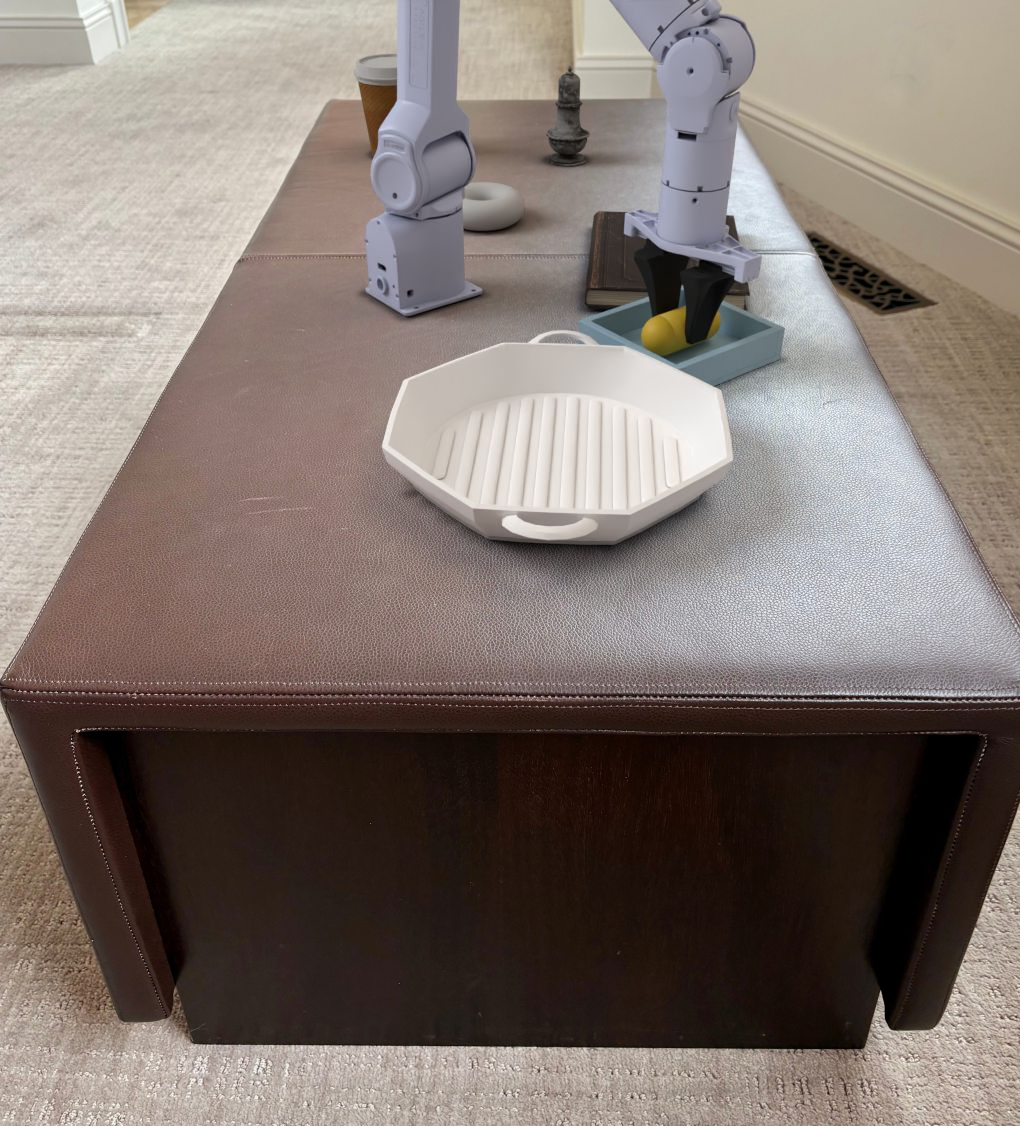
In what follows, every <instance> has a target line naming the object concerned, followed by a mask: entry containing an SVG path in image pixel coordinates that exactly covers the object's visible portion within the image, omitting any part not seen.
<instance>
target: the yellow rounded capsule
mask: <svg viewBox="0 0 1020 1126" xmlns="http://www.w3.org/2000/svg"><path fill="white" fill-rule="evenodd" d="M685 318H686V306H683V307H680V308H677V309H675V310H672V311H669V312H666V313H663V314H660V315H658V316H655V317H653V318H651V319H650V320H648V321H647V322H646V324H645V325H644V327H643V329H642V333H641V339H642V343H643V345H644V347H645V349H647V350H649V351H650V352H652V353H654V354H656V355H658V356H665V355H669V354H672V353H674V352H677V351H680V350H682V349H685V348H687V347H690V346H693V345H695V344H698V343H701V342H703V341H706V340H708V339H710V338H712V337H713V336H714V335H715V334H716V333H717V332H718V330H719V328H720V324H721V316H720V313H719V311H717V313H716V316H715V318H714V320H713V323H712V325H711V328H710V331H709V333H708V336H707V339H706V340H703V341H701V342H698V343H695V344H693V345H691V344H688V343H686V337H685Z"/></svg>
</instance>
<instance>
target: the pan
mask: <svg viewBox="0 0 1020 1126" xmlns="http://www.w3.org/2000/svg"><path fill="white" fill-rule="evenodd" d="M553 338H571V339H575V340H577V341H578V340H580V341H583V342H584V343H585V344H578V343H557V342H553V343H551V342H545V341H548V340H551V339H553ZM724 400H725V399H724V397H723V392H722V390H721V389H719V388H717V387H715V386H711V385H709V384H707V383H705V382H703V381H701V380H699V379H697V378H695V377H693V376H691V375H689V374H686V373H684V372H682V371H680V370H678V369H676V368H673V367H671V366H669V365H667V364H665V363H663V362H661V361H658V360H656V359H654V358H652V357H650V356H647V355H645V354H643V353H640V352H638V351H636V350H634V349H631V348H629V347H627V346H611V345H599V344H598V343H597V342H596V341H595V340H593V339H592V338H591V337H590V336H588V335H585V334H582V333H580V332H579V331H574V330H567V329H561V330H560V329H559V330H550V331H546V332H543V333H539V334H538V335H536V336H535V337H534V338H532V339H531V340H530V341H528V342H501V343H498V344H494V345H492V346H489V347H486V348H483V349H480V350H477V351H475V352H471V353H469V354H467V355H464V356H461V357H458V358H456V359H453V360H450V361H447V362H445V363H443V364H440V365H438V366H435V367H433V368H430V369H427V370H425V371H422V372H420V373H418V374H415V375H413V376H410V377H408V378H405V379H403V380H402V383H401V386H400V388H399V391H398V393H397V396H396V398H395V400H394V403H393V406H392V409H391V411H390V414H389V418H388V422H387V424H386V428H385V433H384V437H383V440H382V444H381V449H382V453H383V456H384V458H385V461H386V463H387V464H388V465H389V466H391V467H392V468H393V469H394V470H395V471H396V472H398V473H399V474H400V475H401V476H402V477H403V478H405V479H406V480H407V481H408V482H409V483H411V484H412V488H413V489H414V490H416V491H417V492H418V493H419V494H421V495H422V496H423V497H424V498H426V499H427V500H428V501H429V502H430V503H432V504H433V505H435V506H436V507H437V508H439V509H440V510H442V511H443V512H444V513H445V514H447V515H448V516H450V517H452V518H453V519H455V520H456V521H457V522H458V523H460V524H462V525H464V526H465V527H467V528H468V529H470V530H472V531H474V532H475V533H477V534H478V535H480V536H482V537H484V538H485V539H487V540H492V541H493V540H494V541H505V542H516V543H533V544H534V543H535V544H554V545H595V546H596V545H607V546H608V545H611V546H612V545H613V546H615V545H617V544H619V543H621V542H623V541H625V540H627V539H630V538H631V537H634V536H636V535H638V534H640V533H642V532H644V531H646V530H648V529H649V528H651V527H653V526H655V525H657V524H658V523H660V522H662V521H664V520H666V519H668V518H670V517H672V516H673V515H675V514H677V513H679V512H680V511H682V510H684V509H685V508H687V507H689V506H690V505H691V504H693V503H694V502H696V501H697V500H699V499H700V497H701V495H703V494H704V493H705V492H706V491H708V490H709V489H711V488H712V487H713V486H715V485H716V484H717V483H718V482H720V481H721V480H722V479H724V478H725V477H727V476H728V475H729V472H730V469H731V467H732V465H733V463H734V452H733V443H732V437H731V431H730V427H729V420H728V415H727V408H726V403H725V401H724Z"/></svg>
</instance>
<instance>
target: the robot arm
mask: <svg viewBox="0 0 1020 1126" xmlns="http://www.w3.org/2000/svg"><path fill="white" fill-rule="evenodd" d="M608 1H609V2H610V3H611V5H612V6H613V8H614V9H615V10H616V11H617V13H618V14H619V15H620V17H622V19H623V21H625V23H626V24H627V26H628V27H629V28H630V30H631V31H632V32H633V33H634V35H635V36H636V37H637V39H639V41H640V43H641V44H642V45H643V46H644V47H645V49H646V50H647V52H648V53H649V54H650V55H651V56H652V58H653V59H654V60H655V61H656V62H658V63H659V64H657V65H656V78H657V79H656V80H657V83H658V86H659V89H660V91H661V93H662V95H663V97H664V98H665V101H666V104H667V107H666V121H665V129H664V140H663V141H664V142H663V153H662V166H661V177H660V179H661V180H660V189H659V190H660V191H659V201H658V203H659V204H658V212H654V211H653V212H651V211H649V210H646V209H644V208H639V209H635V210H631V211H627V212H628V213H625V224H624V234H625V235H628V236H630V237H634V236H636V235H637V236H639V237H642V238H644V239H646V245H644V248H643V249H639V250H637V251H635V252H634V261H635V263H636V265H637V266H638V268H639V270H640V272H641V275H642V277H643V280H644V282H645V285H646V289H647V292H648V296H649V301H650V306H651V311H652V317H655V316H658V315H660V314H663V313H666V312H669V311H672V310H675V309H677V308H678V307H679V300H680V293H681V286H682V284H683V288H684V293H685V302H686V318H685V337H686V343H688V344H691V345H693V344H695V343H698V342H701V341H703V340H706V339H707V336H708V333H709V331H710V328H711V325H712V323H713V320H714V318H715V316H716V313H717V311H718V309H719V307H720V305H721V303H722V301H723V300H724V298H725V296H726V295H727V293H728V292H729V290H730V289H731V287H732V286H733V284H734V283H735V282H736V281H738V282H740V283H745V282H748V283H749V282H751V281H754V280H756V279H758V278H759V277H760V271H761V266H762V264H761V263H762V257H763V256H762V255H760V254H759V253H756V252H754V251H753V250H751V249H749V248H747V247H746V246H745V245H744V244H742V243H741V242H740V241H739V242H738V241H737V240H735V239H734V238H733V237H731V236H730V235H729V234H728V233H729V226H728V225H725V223H726V215H728V206H729V199H730V198H729V197H730V190H731V189H730V188H731V182H732V173H733V164H734V157H735V156H734V155H735V147H736V140H737V132H738V117H739V110H740V101H741V94H742V93H741V91H739V89H740V88H741V87H742V86H743V85H745V83H746V82H747V81H748V80H749V78H750V77H751V75H752V73H753V71H754V68H755V64H756V56H757V55H756V54H757V53H756V45H755V42H754V39H753V36H752V34H751V32H750V31H749V29H748V26H747V23H746V22H745V20H743V19H742V18H740V17H738V16H736V15H734V14H731V13H721V11H722V10H723V7H722V5H721V4H720V2H719V1H718V0H608ZM396 7H397V8H396V9H397V10H396V13H397V16H396V20H397V21H396V23H397V24H396V42H397V43H396V49H397V50H396V54H397V101H396V103H395V105H394V107H393V108H392V110H391V111H390V113H389V114H388V116H387V117H386V119H385V120H384V122H383V123H382V125H381V126H380V128H379V131H378V148H377V151H376V154H375V156H373V157H372V160H371V164H370V170H369V171H370V173H369V174H370V182H371V184H372V185H371V186H372V188H373V191H374V193H375V195H376V197H377V198H378V200H379V201H380V203H381V204H382V205H383V206H384V208H385V209H384V210H385V211H383V213H382V214H380V215H378V216H376V217H373V218H371V219H369V220H368V222H367V223H366V226H365V231H364V244H365V256H366V267H367V268H366V269H367V278H368V279H367V280H368V286H366V287H365V292H366V294H368V295H370V296H372V297H373V298H375V299H376V300H378V301H379V302H381V303H383V304H384V305H386V306H387V307H389V308H391V309H392V310H394V311H396V312H398V313H400V314H401V315H403V316H405V317H412V316H414V315H417V314H419V313H420V314H421V313H424V312H427V311H430V310H434V309H436V308H440V307H443V306H446V305H450V304H454V303H457V302H460V301H464V300H466V299H469V298H473V297H476V296H480V295H482V294H483V289H482V287H480V286H479V285H476V284H474V283H472V282H470V281H469V280H467V279H466V273H465V271H466V269H465V242H464V241H465V240H464V239H465V237H464V229H463V206H462V205H463V199H465V186H467V185H468V184H469V183H472V180H473V178H474V176H475V174H476V169H477V157H476V152H475V149H474V146H473V143H472V140H471V135H470V134H471V133H470V123H471V122H470V121H471V119H470V117H469V116H468V114H467V113H466V112H465V111H464V110H463V108H462V107H461V105H459V104H458V102H457V99H458V98H457V97H458V69H459V42H460V41H459V40H460V37H459V36H460V16H461V15H460V14H461V13H460V12H461V0H397V1H396ZM736 91H737V92H736ZM657 213H658V214H657ZM690 258H692V259H695V260H697V261H699V266H698V267H697V266H695V267H692V268H689V269H686V268H687V265H688V262H689V259H690Z"/></svg>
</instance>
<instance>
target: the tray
mask: <svg viewBox="0 0 1020 1126" xmlns="http://www.w3.org/2000/svg"><path fill="white" fill-rule="evenodd" d="M683 306H686V302H685V293H684V288H683V285H682V286H681V293H680V300H679V307H678V308H680V307H683ZM718 311H719V313H720V316H721V324H720V328H719V330H718V332H717V333H716V334H715V335H714V336H713V337H712V338H710V339H708V340H706V341H703V342H701V343H698V344H695V345H693V346H690V347H687V348H685V349H682V350H680V351H677V352H674V353H672V354H669V355H665V356H658V355H656V354H654V353H652V352H650V351H649V350H647V349H645V347H644V345H643V343H642V339H641V333H642V329H643V327H644V325H645V324H646V322H647V321H648V320H650V319H651V318H653V317H652V311H651V306H650V301H649V297H646V298H644V299H641V300H638V301H635V302H632V303H629V304H626V305H623V306H620V307H617V308H614V309H611V310H605V311H602V312H599V313H596V314H593V315H591V316H588V317H587V316H586V317H584V318H582V319H579V320H578V332H580V333H582V334H585V335H588V336H590V337H591V338H592V339H593V340H595V341H596V342H597V343H598V344H599V345H611V346H627V347H629V348H631V349H634V350H636V351H638V352H640V353H643V354H645V355H647V356H650V357H652V358H654V359H656V360H658V361H661V362H663V363H665V364H667V365H669V366H671V367H673V368H676V369H678V370H680V371H682V372H684V373H686V374H689V375H691V376H693V377H695V378H697V379H699V380H701V381H703V382H705V383H707V384H709V385H711V386H713V387H715V386H718V385H720V384H723V383H725V382H727V381H730V380H733V379H734V378H735V379H736V378H737V377H739V376H742V375H745V374H747V373H750V372H752V371H755V370H756V369H759V368H761V367H764V366H766V365H769V364H771V363H774V362H777V361H779V360H780V359H781V353H782V350H783V349H782V348H783V343H784V336H785V330H786V328H785V327H784V326H782V325H780V324H777V323H775V322H773V321H771V320H768V319H766V318H764V317H762V316H758V315H756V314H754V313H752V312H750V311H748V310H747V311H745V310H743V309H741V308H738V307H736V306H734V305H732V304H729V303H727V302H725V301H722V303H721V305H720V307H719V309H718ZM577 344H585V343H584V342H583V341H580V340H578V339H577Z"/></svg>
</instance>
